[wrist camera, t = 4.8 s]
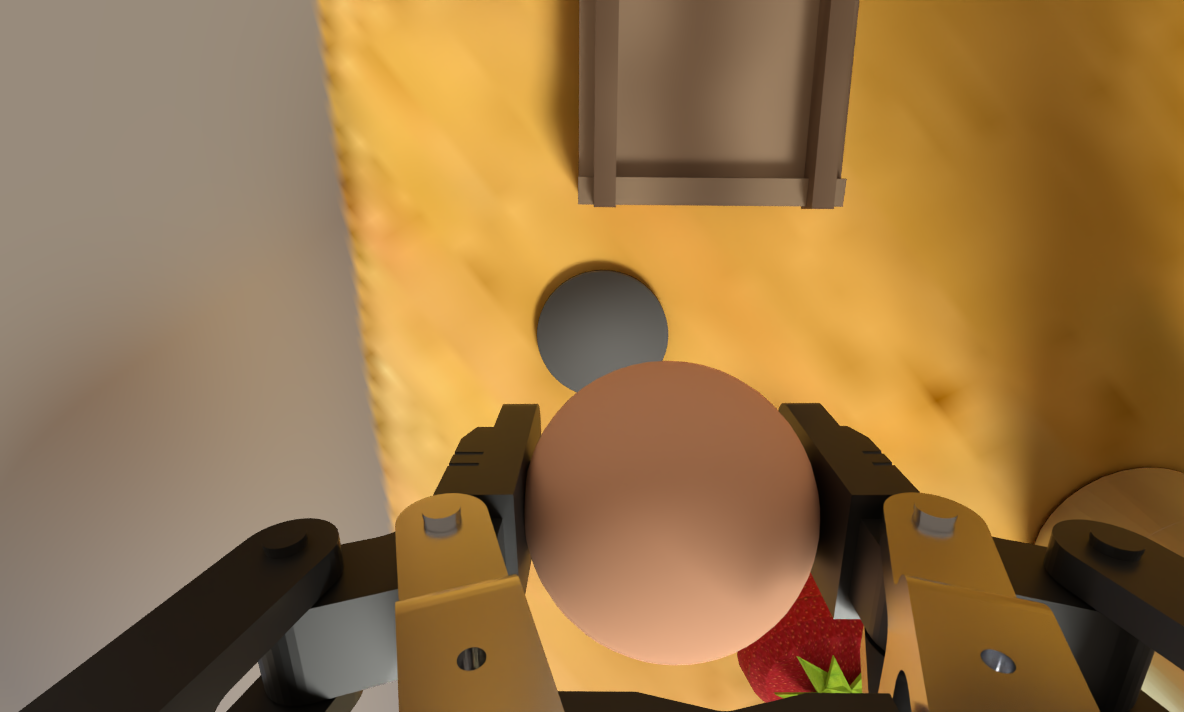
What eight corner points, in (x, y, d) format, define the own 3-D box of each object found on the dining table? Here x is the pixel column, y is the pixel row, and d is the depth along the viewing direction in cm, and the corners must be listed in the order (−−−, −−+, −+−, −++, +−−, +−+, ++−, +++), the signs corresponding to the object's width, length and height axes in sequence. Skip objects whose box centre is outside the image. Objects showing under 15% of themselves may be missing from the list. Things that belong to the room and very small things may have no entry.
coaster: (670, 270, 26) (671, 272, 26) (664, 394, 28) (665, 398, 28) (536, 269, 27) (535, 271, 26) (539, 393, 29) (538, 396, 28)
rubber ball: (783, 326, 12) (901, 438, 7) (763, 538, 13) (850, 745, 9) (534, 328, 12) (488, 439, 7) (543, 538, 14) (510, 742, 9)
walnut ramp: (855, -138, 22) (908, -198, 18) (813, 203, 25) (849, 211, 22) (581, -138, 22) (577, -198, 18) (581, 201, 26) (577, 209, 22)
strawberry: (857, 609, 32) (963, 797, 23) (718, 620, 33) (765, 810, 23) (860, 516, 30) (977, 679, 21) (713, 529, 31) (762, 695, 21)
